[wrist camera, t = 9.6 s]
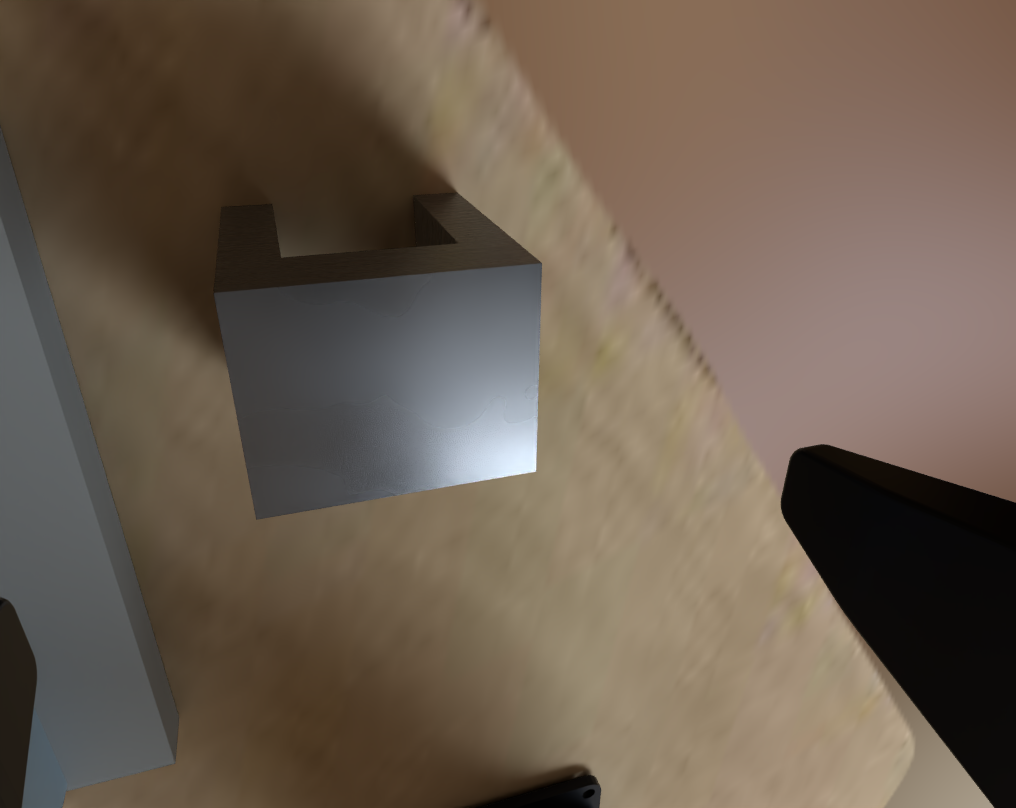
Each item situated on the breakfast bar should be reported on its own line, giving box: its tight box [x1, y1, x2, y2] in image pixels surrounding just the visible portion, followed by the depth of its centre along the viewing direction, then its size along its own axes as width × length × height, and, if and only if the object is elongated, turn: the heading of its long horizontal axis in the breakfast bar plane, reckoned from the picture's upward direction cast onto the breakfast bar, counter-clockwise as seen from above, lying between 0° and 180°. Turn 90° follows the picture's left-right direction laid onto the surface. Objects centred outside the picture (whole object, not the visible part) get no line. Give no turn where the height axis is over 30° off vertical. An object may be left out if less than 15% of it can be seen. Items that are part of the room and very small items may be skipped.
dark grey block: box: [214, 193, 542, 520], centre depth 14 cm, size 5×4×6 cm
